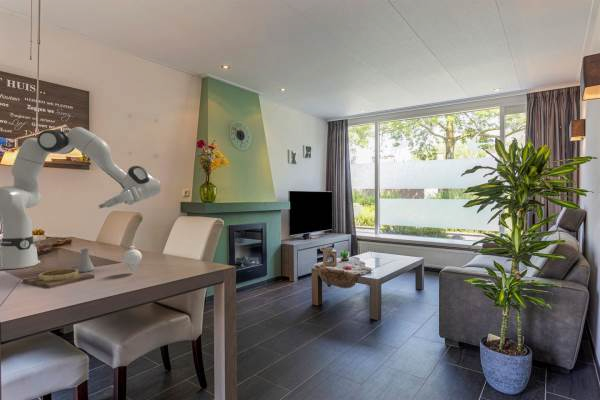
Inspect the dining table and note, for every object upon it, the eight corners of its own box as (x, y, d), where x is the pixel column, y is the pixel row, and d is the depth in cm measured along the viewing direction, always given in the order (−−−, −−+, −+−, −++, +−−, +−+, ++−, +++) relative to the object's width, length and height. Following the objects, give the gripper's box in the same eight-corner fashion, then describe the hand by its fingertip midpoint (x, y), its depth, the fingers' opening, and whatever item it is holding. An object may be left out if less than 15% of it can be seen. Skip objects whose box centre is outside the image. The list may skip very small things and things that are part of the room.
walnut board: (22, 282, 136) (22, 279, 136) (67, 273, 151) (67, 270, 151) (50, 288, 128) (50, 284, 128) (94, 277, 143) (94, 274, 143)
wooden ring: (32, 279, 137) (31, 274, 137) (66, 272, 148) (66, 267, 148) (51, 282, 131) (51, 277, 131) (85, 275, 143) (85, 270, 143)
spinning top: (118, 274, 150) (118, 247, 149) (134, 270, 156) (133, 244, 156) (130, 276, 146) (130, 248, 146) (145, 272, 153) (145, 245, 153)
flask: (85, 273, 152) (85, 250, 152) (71, 272, 153) (71, 250, 153) (98, 269, 159) (97, 248, 159) (84, 268, 161) (84, 247, 160)
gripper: (120, 193, 178) (93, 202, 168) (134, 186, 164) (105, 196, 154) (125, 204, 179) (98, 214, 169) (140, 198, 165) (111, 208, 155)
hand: (102, 205), depth 162 cm, fingers open, 8 cm apart
